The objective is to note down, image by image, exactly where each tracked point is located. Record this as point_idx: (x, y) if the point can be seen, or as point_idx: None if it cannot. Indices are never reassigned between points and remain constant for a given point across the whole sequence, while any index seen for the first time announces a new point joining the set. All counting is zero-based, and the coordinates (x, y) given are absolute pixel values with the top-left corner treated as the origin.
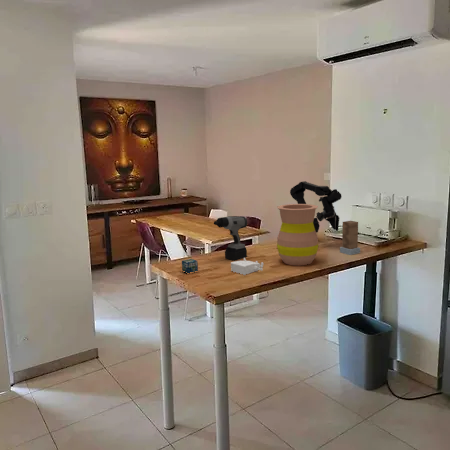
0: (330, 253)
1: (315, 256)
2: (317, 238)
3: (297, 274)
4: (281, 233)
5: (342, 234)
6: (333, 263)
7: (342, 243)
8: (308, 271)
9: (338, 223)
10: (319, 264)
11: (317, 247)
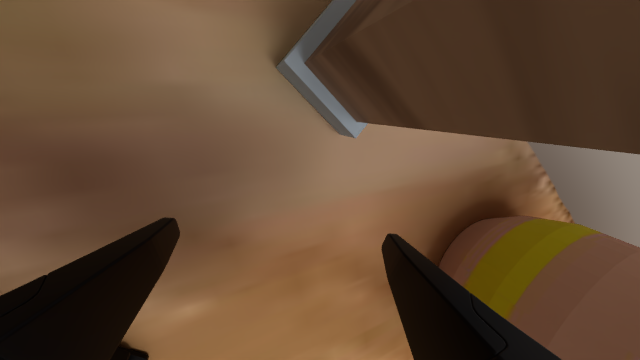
0: (367, 180)
1: (519, 216)
2: (636, 250)
3: (563, 220)
4: None
5: (429, 129)
6: (503, 143)
7: (373, 121)
8: (552, 202)
9: (45, 307)
10: (506, 189)
11: (577, 225)
